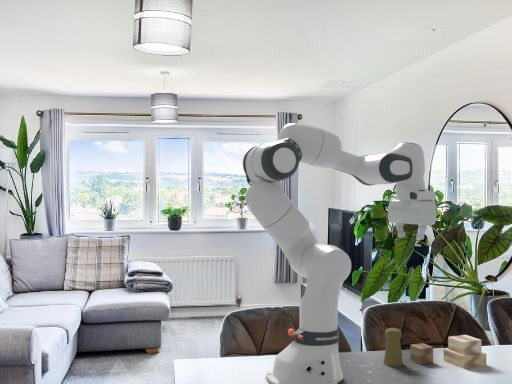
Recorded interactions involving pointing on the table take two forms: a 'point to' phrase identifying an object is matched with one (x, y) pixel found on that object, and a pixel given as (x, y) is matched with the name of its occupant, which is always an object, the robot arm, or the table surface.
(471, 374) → the table surface
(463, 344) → the tower mid
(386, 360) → the cork
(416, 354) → the walnut cube
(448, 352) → the tower base
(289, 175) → the robot arm
